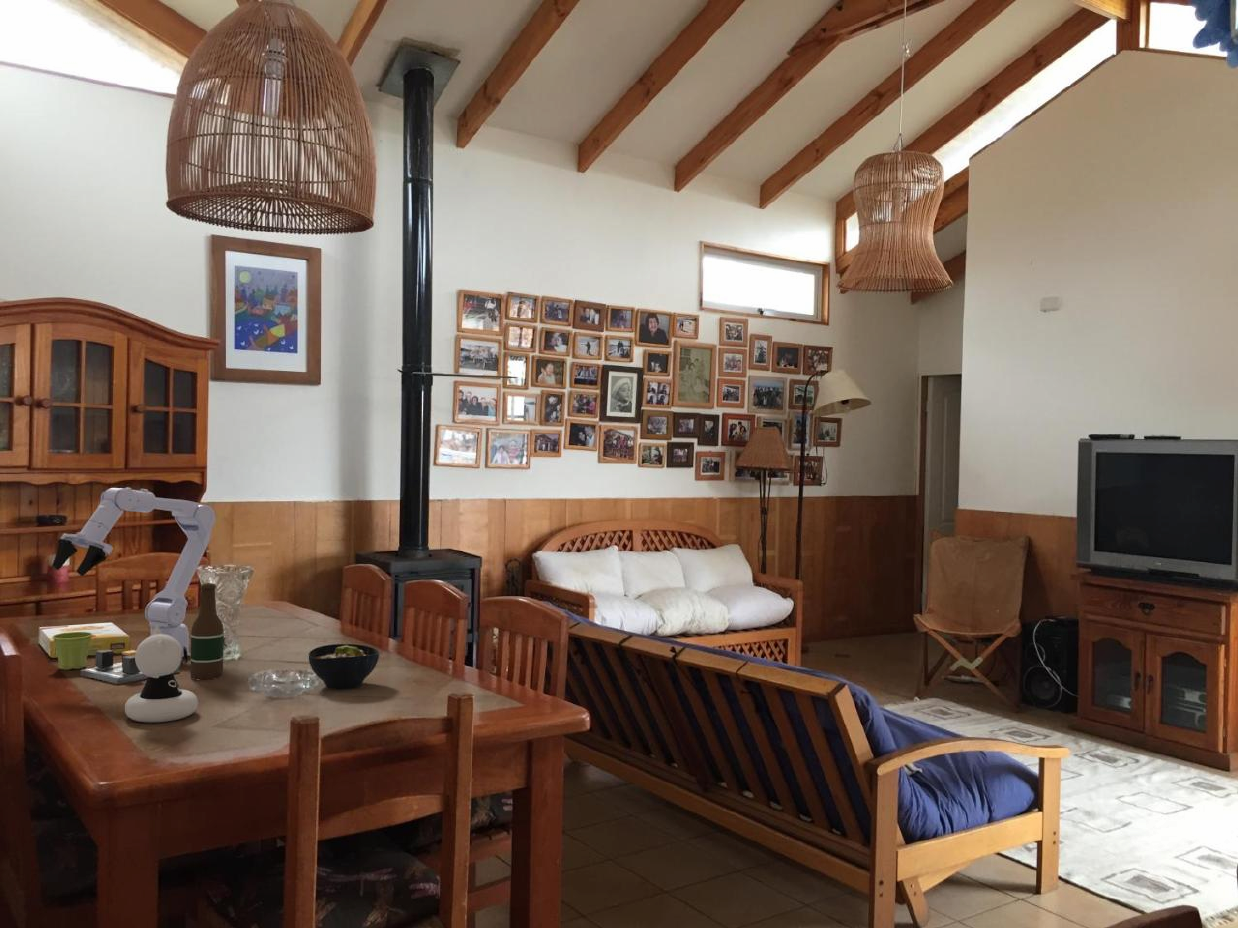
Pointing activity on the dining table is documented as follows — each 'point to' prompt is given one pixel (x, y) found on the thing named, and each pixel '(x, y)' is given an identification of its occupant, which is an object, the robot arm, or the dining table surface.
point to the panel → (114, 669)
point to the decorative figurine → (160, 682)
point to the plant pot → (72, 649)
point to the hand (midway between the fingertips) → (67, 570)
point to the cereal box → (101, 639)
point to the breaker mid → (127, 654)
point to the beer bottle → (207, 638)
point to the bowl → (343, 664)
